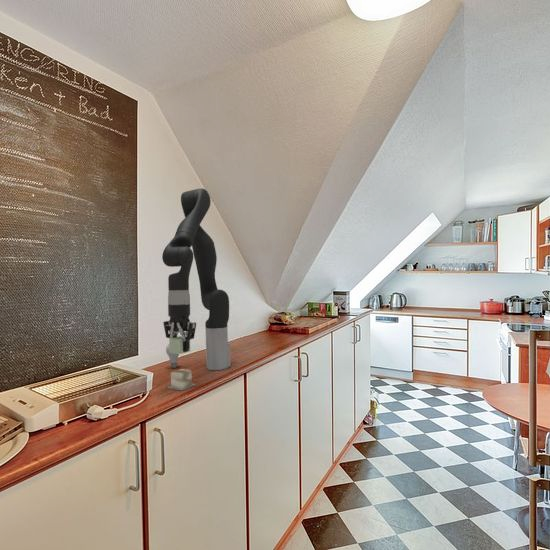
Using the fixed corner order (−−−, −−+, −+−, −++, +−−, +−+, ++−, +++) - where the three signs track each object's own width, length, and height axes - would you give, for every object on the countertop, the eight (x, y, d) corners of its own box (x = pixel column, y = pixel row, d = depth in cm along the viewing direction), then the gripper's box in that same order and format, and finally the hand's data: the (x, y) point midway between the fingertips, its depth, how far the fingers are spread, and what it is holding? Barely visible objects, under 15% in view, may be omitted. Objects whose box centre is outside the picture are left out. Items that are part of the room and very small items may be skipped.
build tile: (181, 382, 130) (181, 381, 130) (196, 385, 126) (196, 383, 126) (166, 388, 124) (166, 387, 124) (182, 391, 120) (182, 389, 120)
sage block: (179, 350, 128) (179, 336, 128) (190, 351, 126) (189, 337, 126) (169, 352, 124) (169, 338, 124) (180, 354, 122) (179, 339, 122)
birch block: (181, 382, 128) (180, 368, 128) (191, 384, 126) (191, 370, 126) (171, 386, 124) (170, 372, 124) (181, 388, 122) (181, 374, 122)
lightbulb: (175, 365, 155) (175, 340, 155) (184, 367, 152) (183, 341, 152) (163, 368, 151) (162, 342, 151) (172, 370, 147) (171, 344, 147)
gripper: (156, 303, 125) (157, 351, 125) (186, 304, 118) (187, 354, 118) (172, 301, 132) (173, 347, 132) (201, 302, 125) (202, 350, 125)
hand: (180, 350), depth 125 cm, fingers closed on sage block, 5 cm apart
